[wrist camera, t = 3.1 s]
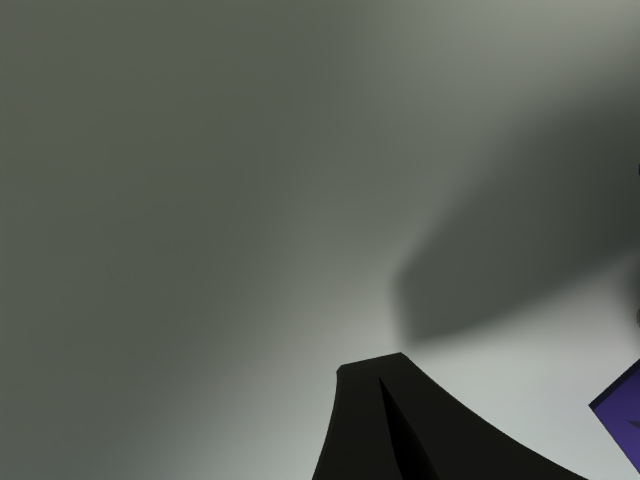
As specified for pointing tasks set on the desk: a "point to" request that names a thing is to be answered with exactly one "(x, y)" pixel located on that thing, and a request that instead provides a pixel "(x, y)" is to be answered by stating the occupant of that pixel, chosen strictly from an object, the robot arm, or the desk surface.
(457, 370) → the desk surface
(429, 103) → the desk surface
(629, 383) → the toy airplane
